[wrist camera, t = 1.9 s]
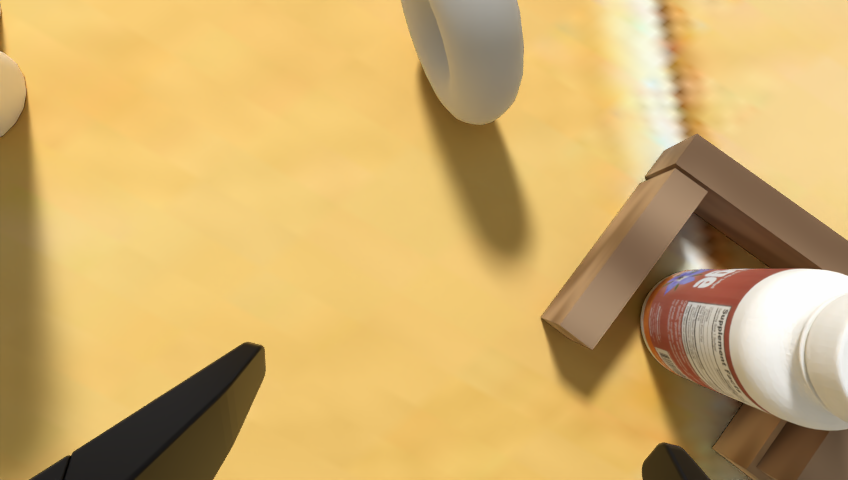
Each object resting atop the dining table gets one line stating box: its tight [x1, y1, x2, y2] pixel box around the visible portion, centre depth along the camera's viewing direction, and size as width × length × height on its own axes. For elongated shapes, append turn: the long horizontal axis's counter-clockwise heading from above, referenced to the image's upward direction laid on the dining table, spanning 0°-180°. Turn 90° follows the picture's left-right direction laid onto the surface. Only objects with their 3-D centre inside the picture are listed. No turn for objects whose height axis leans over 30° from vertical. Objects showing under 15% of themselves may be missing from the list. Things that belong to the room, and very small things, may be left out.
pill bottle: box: [640, 269, 848, 430], centre depth 18 cm, size 6×6×11 cm
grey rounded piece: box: [401, 0, 524, 125], centre depth 20 cm, size 10×4×10 cm, turn 24°
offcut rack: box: [541, 134, 848, 480], centre depth 21 cm, size 12×16×4 cm
